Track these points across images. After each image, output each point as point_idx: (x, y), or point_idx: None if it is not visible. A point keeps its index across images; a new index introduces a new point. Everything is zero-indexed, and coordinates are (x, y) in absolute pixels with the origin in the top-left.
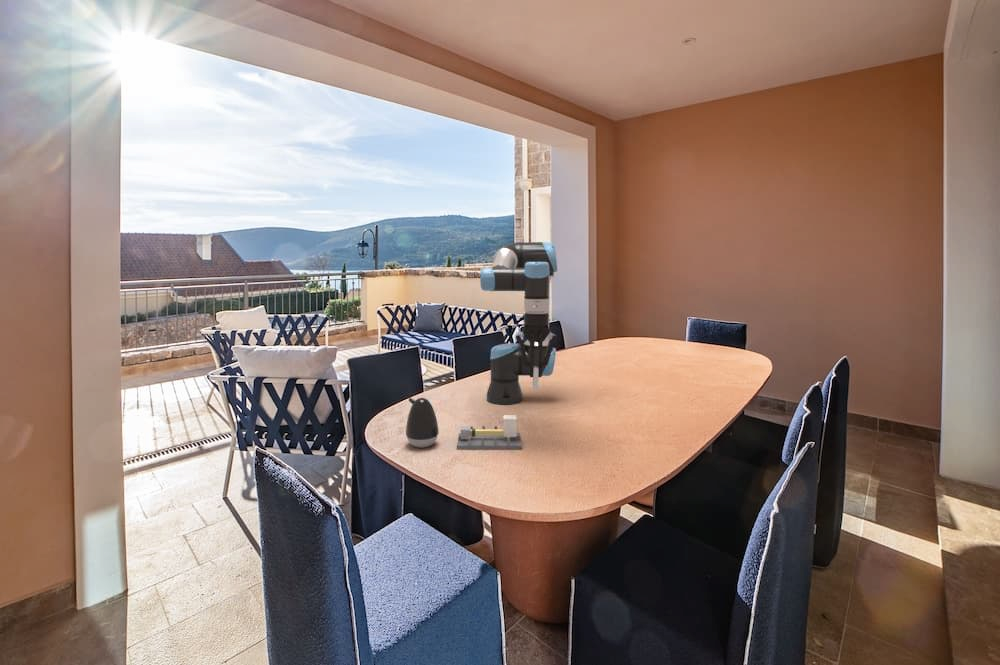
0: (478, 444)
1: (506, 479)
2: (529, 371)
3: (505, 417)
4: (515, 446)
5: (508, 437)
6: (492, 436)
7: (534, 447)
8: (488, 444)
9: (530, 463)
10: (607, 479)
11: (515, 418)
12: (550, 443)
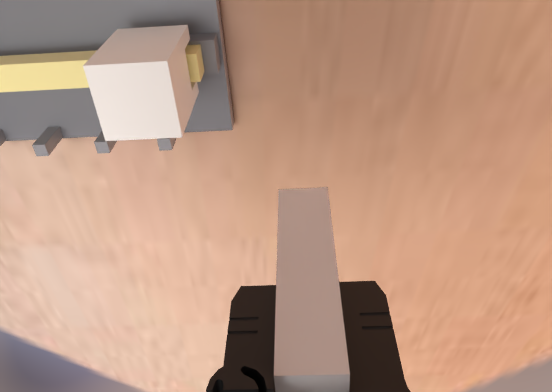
0: (34, 125)
1: (207, 322)
2: (227, 338)
3: (108, 111)
4: (205, 129)
5: (164, 146)
6: (63, 17)
7: (292, 95)
8: (79, 123)
9: (274, 235)
10: (500, 314)
11: (174, 124)
12: (376, 41)
